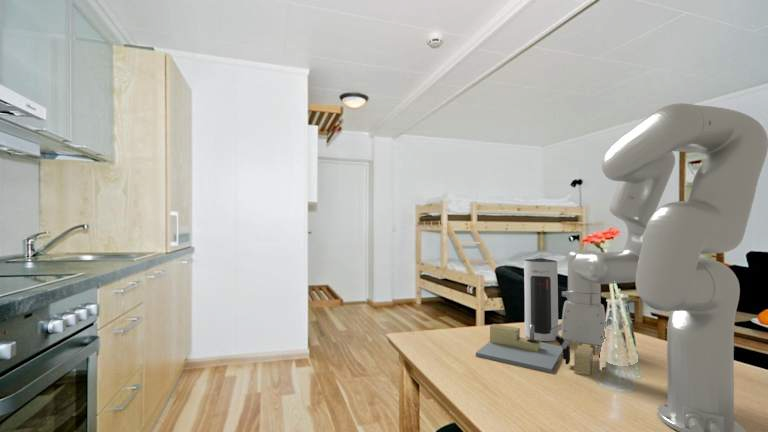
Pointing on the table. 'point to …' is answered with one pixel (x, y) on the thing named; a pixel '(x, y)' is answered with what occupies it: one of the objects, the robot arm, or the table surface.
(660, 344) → the table surface
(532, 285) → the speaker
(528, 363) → the grey base plate
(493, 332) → the fixed leaf
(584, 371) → the beige block
